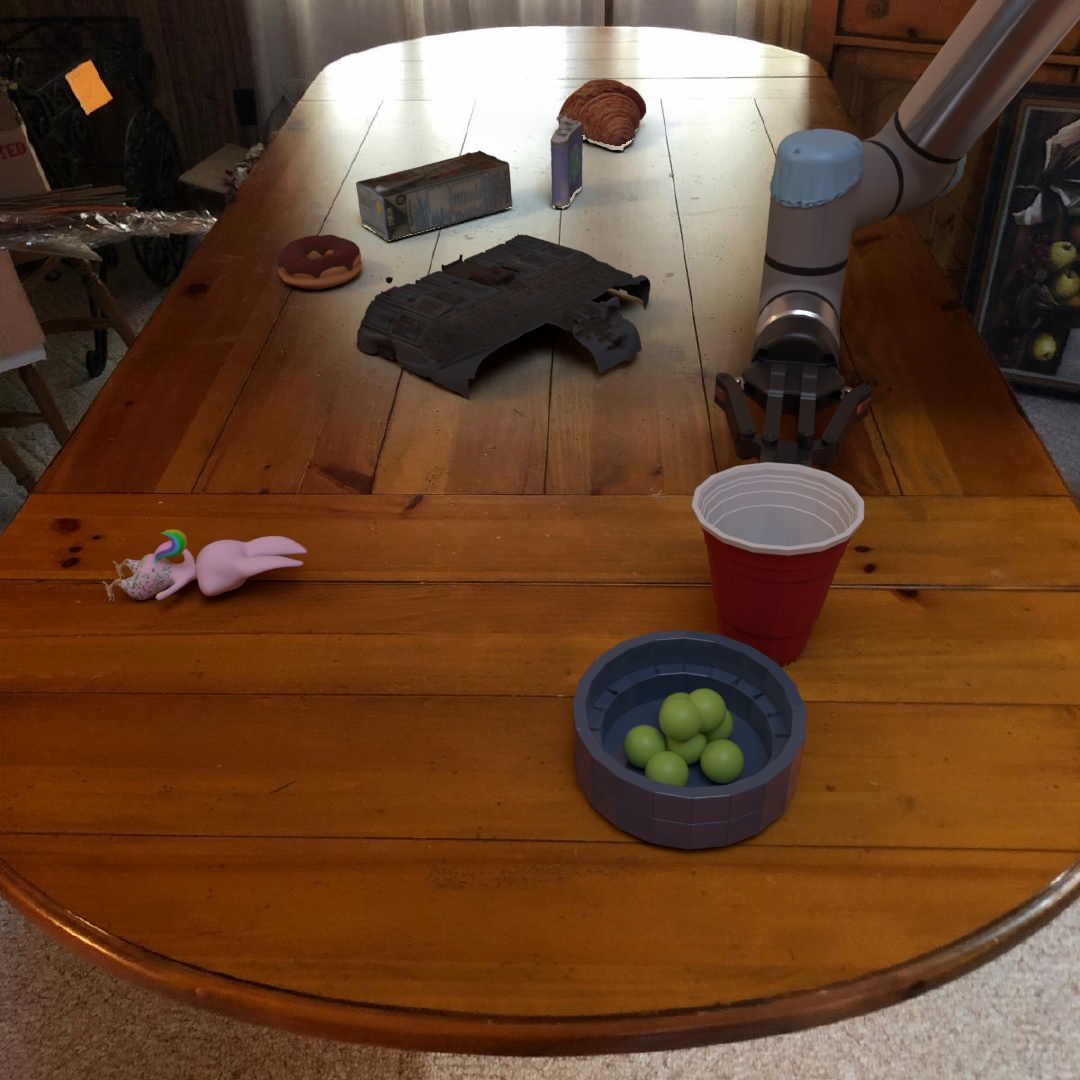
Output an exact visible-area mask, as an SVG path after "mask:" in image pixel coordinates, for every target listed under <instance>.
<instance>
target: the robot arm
mask: <svg viewBox="0 0 1080 1080" xmlns="http://www.w3.org/2000/svg"><path fill="white" fill-rule="evenodd" d="M1079 21H1080V0H976V1H975V3H974V4H973V5H972V7H971V8H970V9H969V10H968V12H967V13H966V14H965V16H964V17H963V19H962V20H961V22H960V23H959V24H958V25H957V27H956V28H955V30H954V31H953V32H952V33H951V35H950V36H949V38H948V39H947V41H946V42H945V43H944V45H943V46H942V47H941V48H940V50H939V52H938V53H937V54H936V55H935V57H934V58H933V60H932V61H931V62H930V64H929V65H928V66H927V68H926V69H925V71H924V72H923V73H922V75H921V76H920V78H919V79H918V80H917V82H916V83H915V84H914V86H913V87H912V89H911V90H910V91H909V93H907V95H906V96H905V98H904V99H903V100H902V102H901V104H900V105H899V107H897V109H896V110H895V112H894V113H893V114H892V116H891V117H890V118H889V120H888V121H887V122H886V123H885V125H883V127H882V128H881V130H880V131H879V132H878V133H877V134H875V135H874V136H871V137H868V138H867V139H864V140H860V139H859V138H858V137H857V136H856V135H854V134H852V133H850V132H846V131H843V130H839V129H831V128H814V129H802V130H797V131H793V132H791V133H790V134H788V135H786V136H785V137H784V138H782V139H781V141H780V143H779V144H778V146H777V149H776V153H775V154H776V155H775V161H774V166H773V173H772V175H771V180H770V182H769V191H770V198H769V208H768V218H767V219H768V220H767V229H766V240H765V253H764V257H763V265H762V274H761V275H762V276H761V283H760V293H759V301H758V302H759V303H758V311H757V312H758V313H757V319H756V324H755V329H754V334H753V341H752V348H751V349H752V350H751V356H750V360H749V361H750V362H749V366H748V367H746V368H745V369H744V370H743V371H742V373H741V376H738V377H733V376H732V375H731V374H730V373H728V372H718V373H716V375H715V384H714V396H713V397H714V398H713V402H714V403H715V404H716V406H717V407H719V408H720V409H721V410H722V412H724V416H725V419H726V423H727V427H728V429H729V434H730V436H731V440H732V443H733V446H734V451H735V454H736V457H737V458H738V460H742V461H750V460H751V459H753V458H754V459H756V460H757V461H758V463H766V462H769V463H783V464H798V465H802V466H806V467H810V468H813V466H815V465H818V467H820V468H822V469H831V468H833V467H834V466H835V464H836V463H837V460H838V458H839V457H840V454H841V452H842V451H843V448H844V446H845V444H846V443H847V440H848V439H849V437H850V435H851V432H852V431H853V429H854V428H855V425H856V424H857V423H859V422H861V420H863V419H865V418H867V417H868V416H869V411H870V404H871V399H872V393H873V387H872V386H871V385H868V384H859V385H857V386H855V387H854V388H851V387H849V386H847V385H846V380H845V377H844V376H842V374H840V347H841V342H840V339H841V337H840V335H841V334H840V333H841V332H840V330H841V328H840V327H841V326H840V321H841V308H842V301H843V291H844V285H845V279H846V271H847V266H848V265H847V264H848V261H849V255H850V254H849V253H850V249H851V242H852V235H853V233H854V232H858V231H860V230H863V229H865V228H868V227H870V226H873V225H875V224H877V223H880V222H882V221H884V220H887V219H890V218H892V217H893V218H894V217H895V216H898V215H900V214H903V213H905V212H906V213H907V212H908V211H911V210H913V209H919V208H922V207H926V206H928V205H931V204H932V203H934V202H935V201H937V200H938V199H939V198H940V197H943V196H944V195H946V194H948V193H950V192H951V191H952V190H954V188H955V187H956V186H957V185H958V184H959V183H960V181H961V180H962V178H963V175H964V170H965V165H966V163H967V153H968V152H969V151H970V150H971V148H972V147H973V146H974V145H975V144H976V143H977V141H978V140H979V139H980V138H981V137H982V135H983V134H985V132H986V131H987V130H988V128H989V127H990V126H991V125H992V123H994V122H995V120H996V119H997V118H998V117H999V115H1000V114H1001V113H1002V112H1003V111H1004V109H1005V108H1006V107H1007V105H1009V104H1010V102H1011V101H1012V100H1013V99H1014V98H1015V96H1017V94H1018V93H1019V91H1020V90H1021V89H1022V88H1023V87H1024V86H1025V85H1026V83H1027V82H1028V81H1029V80H1030V78H1032V76H1033V75H1034V74H1035V73H1036V71H1037V70H1038V69H1039V68H1040V67H1041V66H1042V64H1043V63H1044V62H1045V61H1046V60H1047V59H1048V57H1049V56H1051V54H1052V52H1053V51H1054V50H1055V49H1056V48H1057V47H1058V45H1059V44H1060V43H1062V41H1063V39H1064V38H1066V36H1067V35H1068V34H1069V33H1070V32H1071V30H1072V29H1073V28H1074V27H1075V25H1076V24H1077V23H1078V22H1079ZM745 395H746V397H747V398H749V399H750V400H751V401H752V402H754V403H755V404H756V405H757V406H759V408H761V409H762V410H763V411H765V415H764V423H763V431H762V434H760V433H756V428H755V424H754V421H753V418H752V415H751V412H750V409H749V405H748V403H747V399H746V397H745ZM838 402H839V403H838ZM837 403H838V406H837V408H836V410H835V412H834V413H833V415H832V417H831V419H830V421H828V422H829V423H828V424H827V426H826V428H825V429H824V431H823V433H822V435H821V439H815V434H816V432H815V422H816V421H815V420H816V415H817V414H820V413H821V412H823V411H824V410H827V409H828V408H829V407H832V406H834V405H835V404H837ZM782 416H794V417H796V426H795V427H796V432H795V441H791V440H780V439H779V438H780V430H781V421H782V420H781V418H782Z"/></svg>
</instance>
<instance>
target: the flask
mask: <svg viewBox="0 0 1080 1080" xmlns="http://www.w3.org/2000/svg"><path fill="white" fill-rule="evenodd" d="M558 115H559V114H558ZM558 115H557V116H556V119H555V120H556V122H558V119H559V118H560V117H562V115H559V116H558ZM571 119H572V118H570V119H568V118H567V116H563V117H562V118H561V119H560V122H561V123H560V125H559V124H558V127H557V129H556V130H555V131H554V133H552V136H551V138H550V171H551V172H550V174H551V175H550V176H551V185H550V186H551V201H550V202H551V206H552V205H554V206H555V207H556V206H558V207H561V206H565V205H568V204H569V203H570V198H571V197H572V195H573V193H574V192H575V191H576V190H577V189H579V188H580V187H581V186H582V187H583V157H584V156H583V150H584V149H583V147H584V146H583V143H584V141H583V136H582V135H583V124H582V123H581V122H579V121H572V120H571ZM570 120H571V121H570ZM558 207H557V208H558Z"/></svg>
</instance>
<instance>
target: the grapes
mask: <svg viewBox="0 0 1080 1080" xmlns="http://www.w3.org/2000/svg"><path fill="white" fill-rule="evenodd" d="M659 725H660V728H661V730H662V731H663V733H664V734H665V739H664V737H663V735H662V734H661V732H660V731H659V730H657V729H656V728H654V727H652V726H649V725H640V726H636V727H634V728H633V729H631V730H630V731H629V732H628V733H627V735H626V737H625V739H624V742H623V750H624V754H625V756H626V758H627V760H628V761H629V762H630V763H631V764H633V765H634V766H636V767H639V768H645V777H647V778H649V779H651V780H654V781H656V782H658V783H665V784H671V785H677V786H683V787H685V786H686V784H687V781H688V778H689V770H688V766H687V765H690V764H694V763H696V762H698V761H699V760H700V764H701V768H702V771H703V772H704V774H705V775H706V776H707V777H708V778H709V779H710V780H712V781H714V782H717V783H729V782H732V781H734V780H735V779H737V778H738V777H739V776H740V774H741V773H742V770H743V767H744V756H743V753H742V751H741V750H740V748H739V747H738V746H737V745H736V744H735V743H733V742H731V741H729V740H727V739H728V738H729V737H730V735H731V733H732V731H733V718H732V716H731V714H730V712H729V711H728V710H727V709H726V705H725V702H724V700H723V699H722V697H721V696H720V695H719V694H718V693H716V692H715V691H713V690H710V689H698V690H695V691H693V692H692V693H690V694H687V693H674V694H672V695H670V696H668V697H667V698H666V699H665V700H664V702H663V703H662V706H661V709H660V713H659Z"/></svg>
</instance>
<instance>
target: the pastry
mask: <svg viewBox="0 0 1080 1080" xmlns="http://www.w3.org/2000/svg"><path fill="white" fill-rule="evenodd" d="M646 114H647V104H646V101H645V100H644V98H643V97H642V95H641V94H640V93H639V92H638V90H636V89H635V88H634V87H632V86H630V85H626V84H624V83H623V82H621V81H619V80H616V79H608V78H602V79H591V80H588V81H587V82H585V83H583V84H582V86H580V87H579V88H578V89H576V90H574V92H572V93H571V94H570V95H569V96H568V97H566V99H565V100H564V102H563V104H562V106H561V108H560V110H559V112H558V115H557V117H558V116H559V115H562V117H563V116H567V118H568V119H570V118H572V119H571V120H572V121H579V122H581V123H582V124H583V135H585V137H586V138H587V139H591V140H593V141H597V142H602V143H604V144H609V145H614V146H621V145H622V144H626V142H628V141H630V140H632V139H633V138H634V137H635V138H636V132H635V130H636V129H637V128H638V129H639V127H640V125H641V121H642V120H643V119H644V117H645V115H646ZM562 117H560V118H559V119H558V121H557V122H558V126H559V125H560V123H561V122H560V119H561V118H562ZM571 120H570V121H571ZM635 138H634V139H635Z"/></svg>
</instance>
